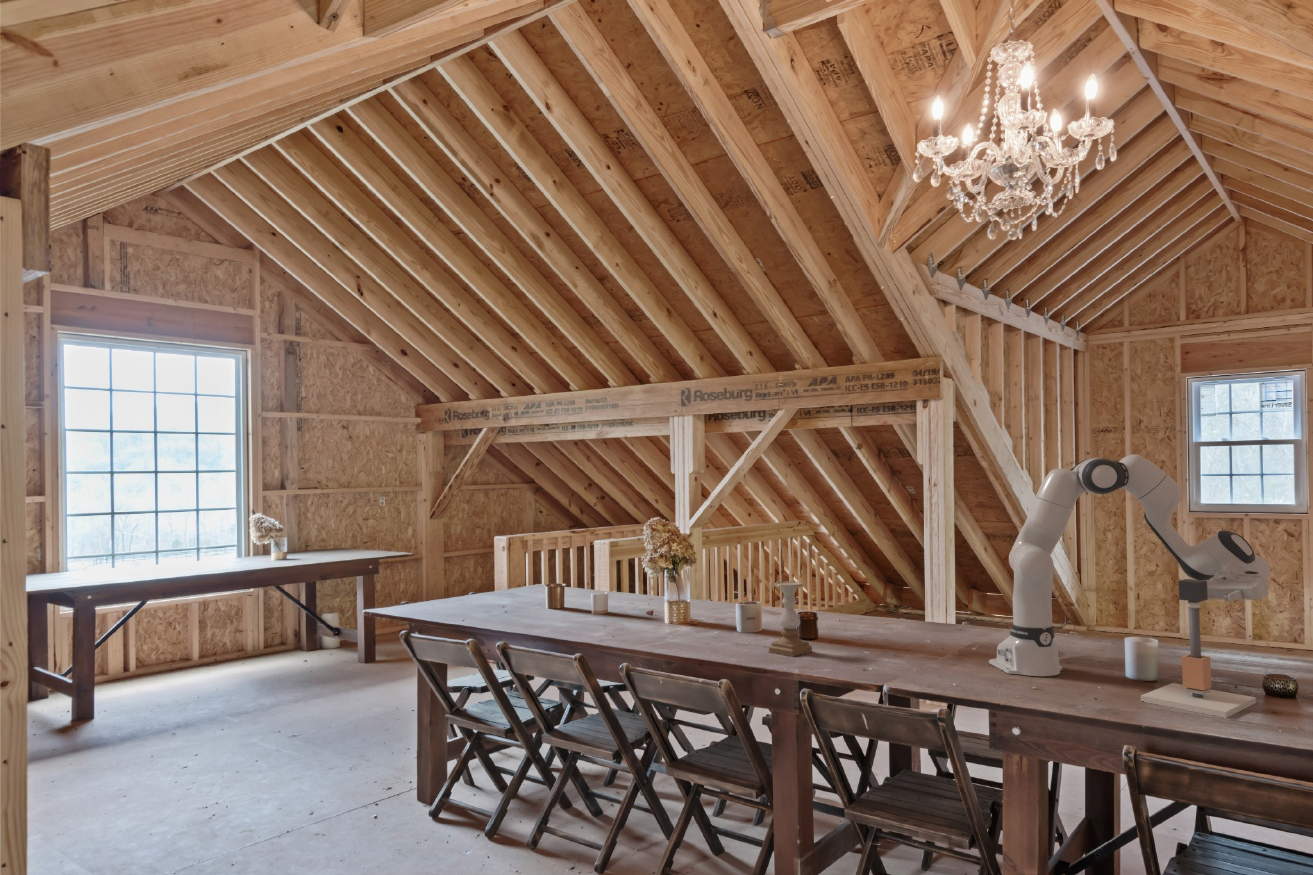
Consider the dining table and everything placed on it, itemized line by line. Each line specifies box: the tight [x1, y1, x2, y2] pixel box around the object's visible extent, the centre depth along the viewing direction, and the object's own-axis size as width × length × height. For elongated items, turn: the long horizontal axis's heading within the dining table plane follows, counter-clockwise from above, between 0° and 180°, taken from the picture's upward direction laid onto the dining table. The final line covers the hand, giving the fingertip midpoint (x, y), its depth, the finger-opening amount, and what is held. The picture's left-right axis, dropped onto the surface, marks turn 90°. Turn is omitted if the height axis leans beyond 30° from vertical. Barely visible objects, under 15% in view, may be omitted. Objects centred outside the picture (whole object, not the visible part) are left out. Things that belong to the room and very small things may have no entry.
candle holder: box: [768, 580, 813, 657], centre depth 294 cm, size 11×11×24 cm
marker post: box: [1140, 578, 1257, 719], centre depth 224 cm, size 20×20×32 cm
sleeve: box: [1181, 653, 1213, 690], centre depth 224 cm, size 5×5×8 cm
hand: (1208, 598), depth 231 cm, fingers open, 8 cm apart
